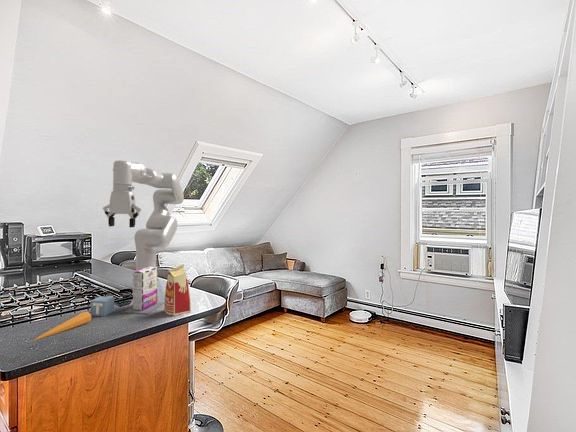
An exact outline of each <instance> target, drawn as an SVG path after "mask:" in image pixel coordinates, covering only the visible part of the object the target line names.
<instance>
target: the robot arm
mask: <svg viewBox="0 0 576 432" xmlns="http://www.w3.org/2000/svg"><path fill="white" fill-rule="evenodd" d="M112 175H113V176H112V179H113V180H112V191H111V193H110V197H109V204H107V205H105V206H103V207H102V209H103V211H104V214H105V215H106V217H107V219H108V227H114V226H115V219H116V218H115V217H114V216H115V215H117V214H118V215H128V216H129V217H130V218H129V223H128V224H129V228H135V227H136V219H137V217H139V216H140V214H141V212H142V208H140V207H138V206H137V205H136V198H135V192H133V190H135V186H133V183H137V184H140V185H147V186H150V187H153V188H155V189H156V190H155V191H154V192H153V194H152V195H153V196H152V199H153V200H152V202H153V208H154V209H153V212H152V213H151V214H150V215H149V217H148V219H147V221H146V223H145V228H141V229H138V230H137V231H135V233H134V237H133V239H134V244H135V251H136V253H135V255H136V256H135V257H136V258H135V259H136V260H135V271H137V270H140V269H143V268H146V267H157V254H156V252H155V250H154V248H155V249H158V248H159V249H165V248H167V247H168V246H169V245H170V243H171V242H172V240H173V237H174V235H175V233H176V231H177V229H178V221H177V220H178V219H176V217H175V216H172V215H170V210H169V209H168V208H167V206H166V205H181V204H183V202H184V199H185V196H184V192H183V189H182V186H181V183H180V180H179V178H178V177H177V175H176V174H175V173H172V172H171V173H170V172H169V173H168V172H165V173H164V172H159V171H157V170H155V169H152V168H149V167H148V168H147V167H146V166H145V165H144V164H142V163H140V162H130V161H127V160H115V161H114V162H113V167H112ZM158 281H159V278H158V277H157V282H158ZM159 287H160V286H159V285H158V284H157V290H159ZM131 290H132V291H133V286H132V287H131Z"/></svg>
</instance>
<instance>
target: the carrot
mask: <svg viewBox="0 0 576 432" xmlns="http://www.w3.org/2000/svg"><path fill="white" fill-rule="evenodd" d="M91 320H92V315H91V314H90V312H88V311H83V312H80V313H79V314H77V315H74V316H73V317H70V319H68V320H66V321H64V322H63V323H61V324H59V325H57V326H55V327H53V328H52V329H50V330H48V331H46V332H44V333H42V334H41V335H40V336H37V337H36V338H35V339H33V340H32V342H34V341H37V340H40V339H43V338H47V337H50V336H53V335H55V334H56V335H57V334H59V333H62V332H65V331H69V330H70V329H71V330H72V329H74V328H78V327H80V326H83V325H86V324H89V323H90V322H91Z"/></svg>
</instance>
